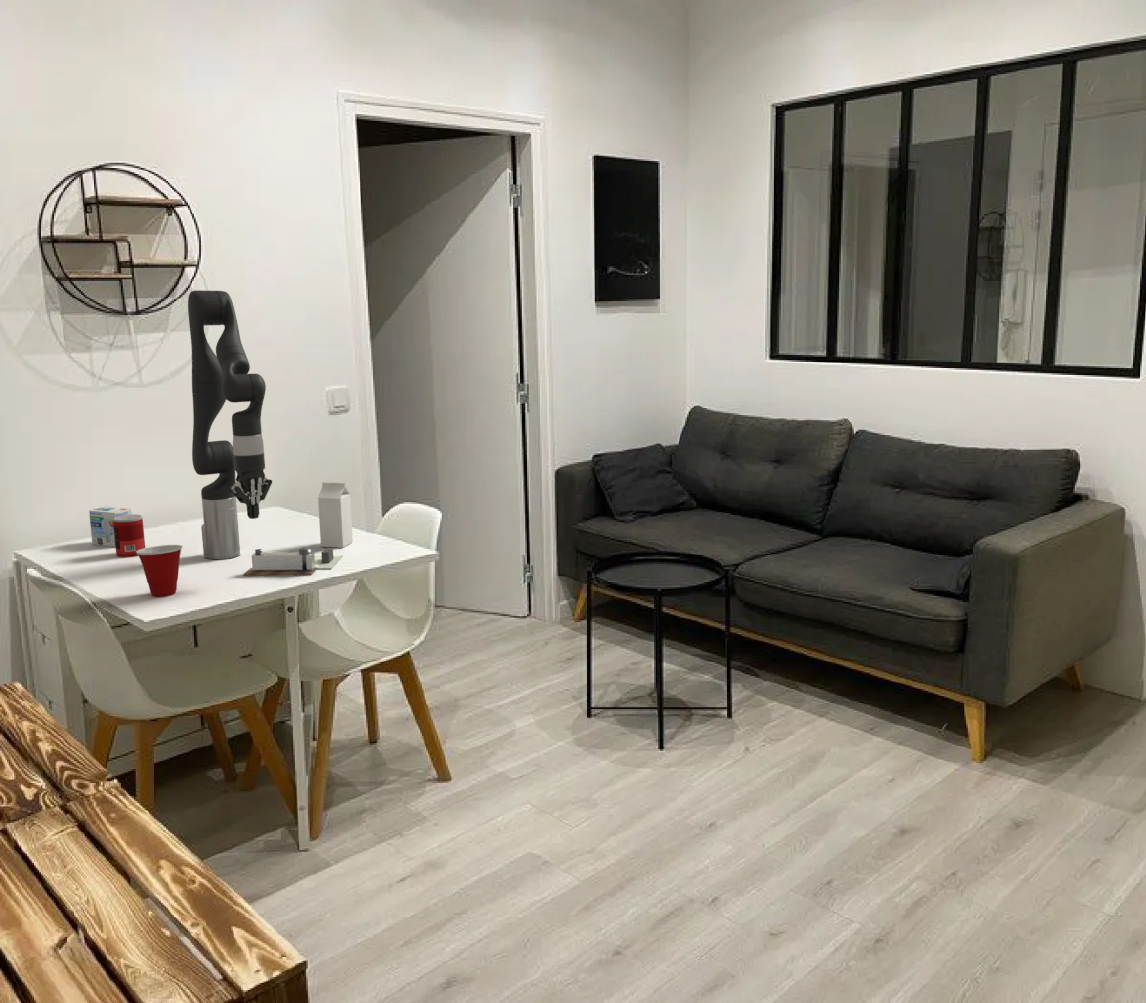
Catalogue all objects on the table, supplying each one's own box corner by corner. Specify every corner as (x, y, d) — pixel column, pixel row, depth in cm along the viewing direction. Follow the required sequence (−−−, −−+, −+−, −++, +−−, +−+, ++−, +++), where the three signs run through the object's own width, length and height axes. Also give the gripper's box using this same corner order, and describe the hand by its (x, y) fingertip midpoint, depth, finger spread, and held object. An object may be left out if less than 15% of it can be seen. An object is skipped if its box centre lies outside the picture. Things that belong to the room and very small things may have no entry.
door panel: (250, 570, 273) (250, 568, 273) (265, 557, 286) (265, 556, 286) (331, 569, 273) (331, 567, 273) (342, 557, 286) (342, 555, 285)
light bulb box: (91, 545, 303) (87, 510, 301) (109, 540, 310) (105, 505, 307) (118, 547, 299) (114, 512, 297) (135, 542, 306) (132, 508, 303)
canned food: (151, 552, 294) (148, 515, 291) (129, 558, 287) (125, 521, 284) (132, 549, 297) (129, 513, 295) (110, 555, 290) (106, 518, 288)
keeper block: (322, 564, 278) (321, 552, 277) (326, 560, 283) (325, 548, 282) (329, 564, 278) (328, 552, 277) (333, 560, 283) (332, 548, 282)
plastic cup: (176, 585, 259) (172, 540, 257) (193, 593, 251) (189, 547, 249) (133, 593, 252) (128, 547, 249) (150, 602, 244) (145, 554, 242)
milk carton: (343, 548, 296) (339, 485, 292) (320, 547, 298) (317, 484, 294) (353, 542, 303) (349, 480, 299) (331, 541, 304) (327, 480, 301)
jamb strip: (243, 575, 267) (243, 572, 267) (250, 570, 273) (250, 566, 273) (311, 575, 267) (311, 572, 267) (317, 569, 273) (317, 566, 273)
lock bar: (315, 566, 271) (314, 547, 270) (312, 569, 268) (311, 550, 267) (256, 567, 271) (254, 548, 270) (252, 570, 268) (251, 551, 267)
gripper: (239, 456, 249) (244, 524, 253) (278, 449, 261) (283, 514, 264) (218, 454, 253) (223, 521, 256) (257, 448, 264) (262, 512, 268)
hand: (253, 518), depth 260 cm, fingers closed
